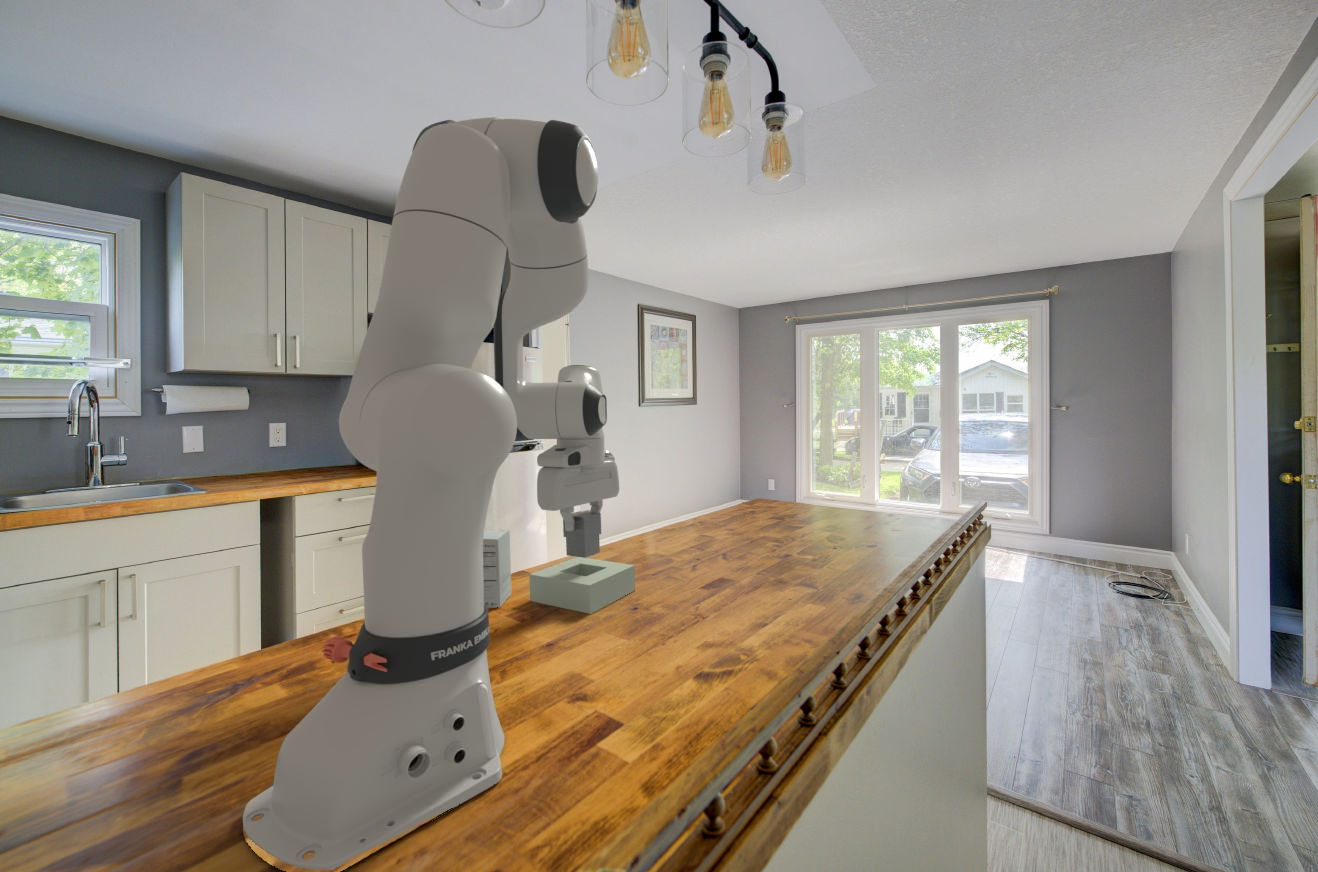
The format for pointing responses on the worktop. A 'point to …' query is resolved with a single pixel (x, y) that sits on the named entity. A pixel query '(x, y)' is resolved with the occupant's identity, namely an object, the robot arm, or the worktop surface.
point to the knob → (584, 534)
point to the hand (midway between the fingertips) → (582, 527)
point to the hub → (582, 584)
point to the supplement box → (496, 567)
